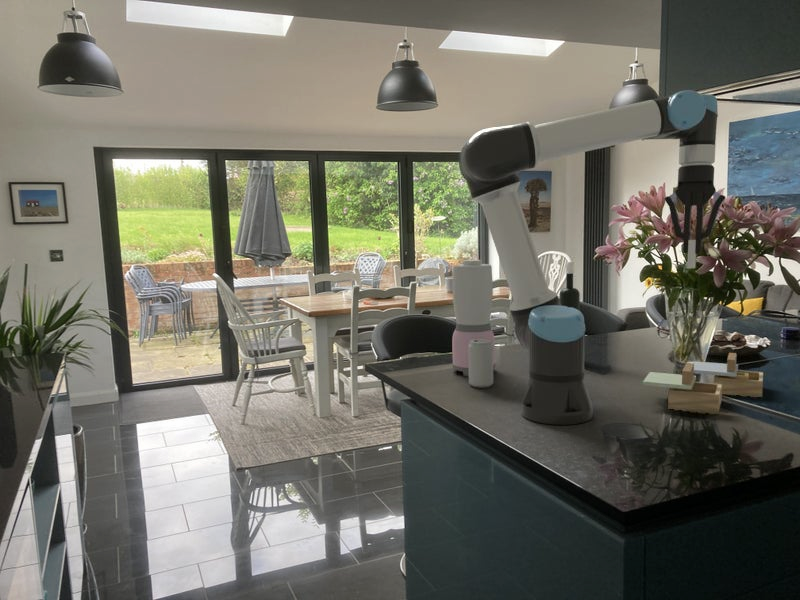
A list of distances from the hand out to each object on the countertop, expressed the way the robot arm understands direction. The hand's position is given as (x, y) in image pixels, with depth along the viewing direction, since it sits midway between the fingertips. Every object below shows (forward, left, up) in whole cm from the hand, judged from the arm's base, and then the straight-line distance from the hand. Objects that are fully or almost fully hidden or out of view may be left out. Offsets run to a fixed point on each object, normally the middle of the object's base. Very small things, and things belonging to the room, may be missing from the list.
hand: (691, 267), depth 148 cm
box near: (-10, -2, -31) cm, 32 cm away
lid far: (+6, -5, -26) cm, 27 cm away
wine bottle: (+26, +36, -31) cm, 54 cm away
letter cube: (+6, -10, -30) cm, 32 cm away
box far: (+6, -10, -31) cm, 33 cm away
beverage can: (-12, +49, -31) cm, 59 cm away
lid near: (-10, +3, -26) cm, 27 cm away
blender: (+3, +58, -31) cm, 65 cm away
